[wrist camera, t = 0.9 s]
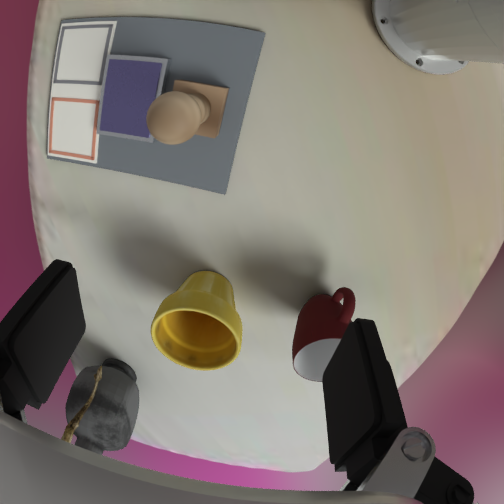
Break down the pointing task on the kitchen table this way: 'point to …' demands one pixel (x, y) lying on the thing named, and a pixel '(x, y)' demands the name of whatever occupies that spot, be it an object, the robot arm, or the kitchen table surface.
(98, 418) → the pitcher
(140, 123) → the ink pad
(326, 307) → the mug
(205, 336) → the plant pot
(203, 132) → the stamp
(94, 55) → the paper sheet
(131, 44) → the desk mat
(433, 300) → the kitchen table surface
